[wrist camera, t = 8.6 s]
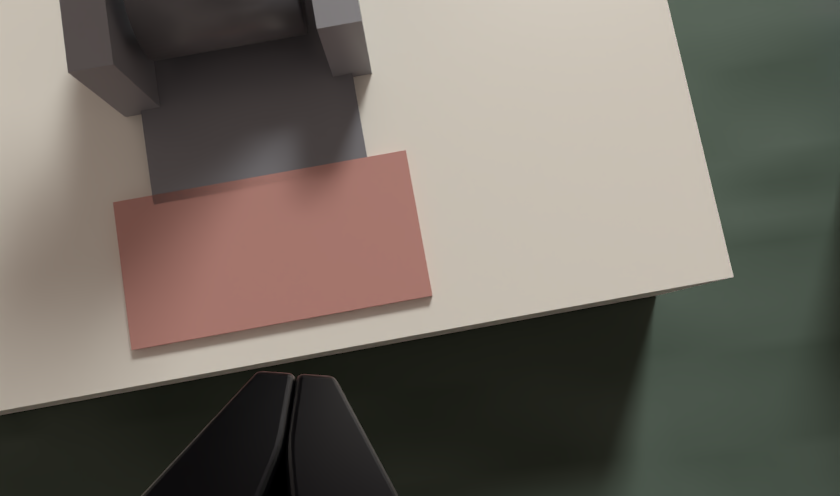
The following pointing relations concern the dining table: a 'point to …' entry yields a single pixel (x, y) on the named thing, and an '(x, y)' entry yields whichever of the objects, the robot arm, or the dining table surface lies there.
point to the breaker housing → (333, 184)
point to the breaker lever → (211, 24)
